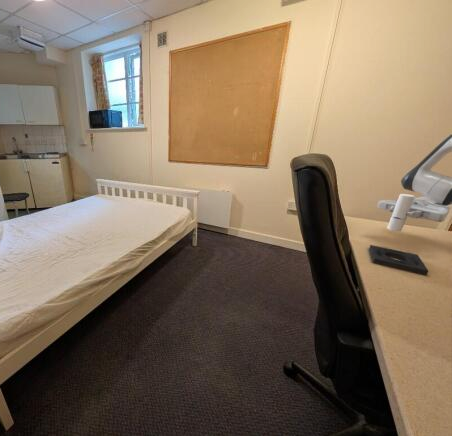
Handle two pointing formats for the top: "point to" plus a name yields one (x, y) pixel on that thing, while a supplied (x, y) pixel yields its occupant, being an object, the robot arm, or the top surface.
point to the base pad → (408, 260)
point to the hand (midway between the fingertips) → (400, 212)
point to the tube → (400, 212)
